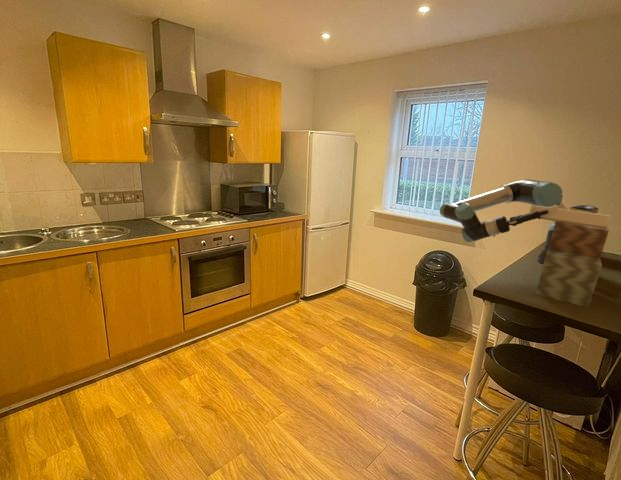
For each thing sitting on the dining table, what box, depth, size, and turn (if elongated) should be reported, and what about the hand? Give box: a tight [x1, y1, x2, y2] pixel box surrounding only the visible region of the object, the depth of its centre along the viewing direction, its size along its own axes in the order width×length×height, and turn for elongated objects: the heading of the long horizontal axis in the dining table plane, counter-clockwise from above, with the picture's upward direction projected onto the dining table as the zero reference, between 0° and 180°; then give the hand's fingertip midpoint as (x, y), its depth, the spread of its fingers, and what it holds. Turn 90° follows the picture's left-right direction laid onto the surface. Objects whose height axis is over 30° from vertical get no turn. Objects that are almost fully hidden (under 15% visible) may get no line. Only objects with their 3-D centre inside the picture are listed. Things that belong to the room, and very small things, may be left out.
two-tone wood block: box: [535, 221, 610, 308], centre depth 145 cm, size 18×26×30 cm
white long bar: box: [529, 205, 611, 229], centre depth 138 cm, size 26×4×5 cm, turn 52°
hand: (557, 208), depth 139 cm, fingers closed on white long bar, 4 cm apart
